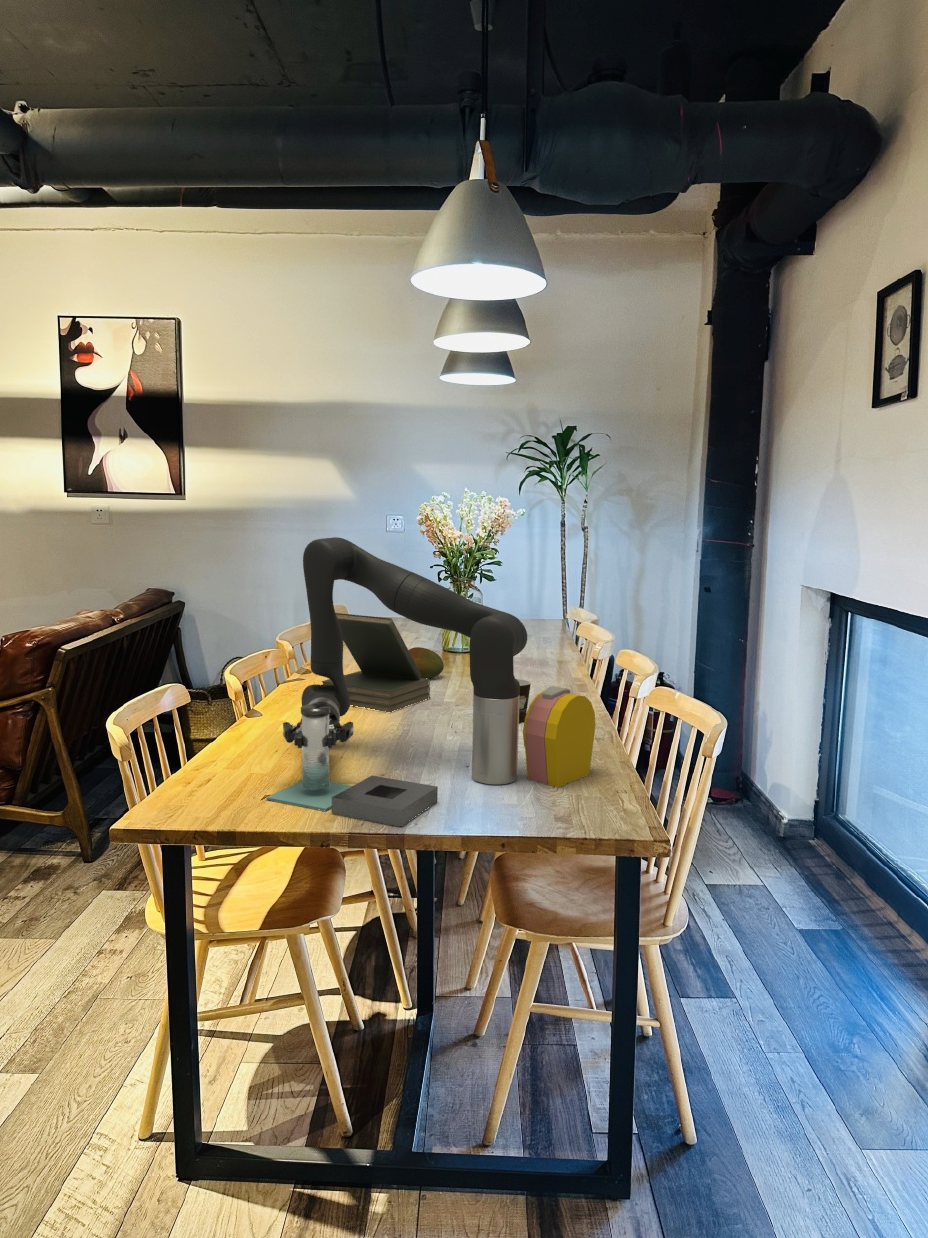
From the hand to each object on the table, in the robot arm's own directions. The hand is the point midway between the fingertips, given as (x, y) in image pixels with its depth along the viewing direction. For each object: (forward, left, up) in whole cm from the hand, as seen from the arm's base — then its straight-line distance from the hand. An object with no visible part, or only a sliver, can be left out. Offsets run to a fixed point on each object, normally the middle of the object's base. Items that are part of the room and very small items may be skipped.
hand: (314, 742), depth 158 cm
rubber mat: (-2, -1, -11) cm, 11 cm away
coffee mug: (-72, +10, -11) cm, 74 cm away
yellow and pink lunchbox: (-34, +36, -11) cm, 51 cm away
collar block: (-2, +14, -11) cm, 18 cm away
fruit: (-109, -33, -11) cm, 115 cm away
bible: (-75, -31, -11) cm, 82 cm away
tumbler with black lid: (-2, -1, -9) cm, 9 cm away
